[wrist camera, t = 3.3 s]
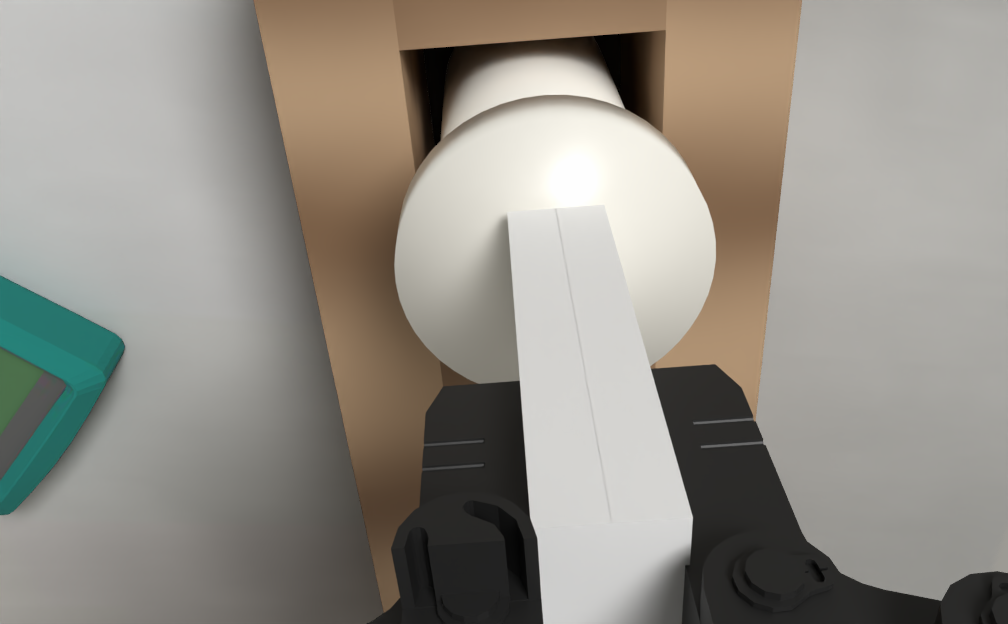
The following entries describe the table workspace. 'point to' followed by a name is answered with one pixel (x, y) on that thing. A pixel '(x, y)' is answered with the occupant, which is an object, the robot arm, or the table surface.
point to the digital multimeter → (44, 385)
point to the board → (409, 139)
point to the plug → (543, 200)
